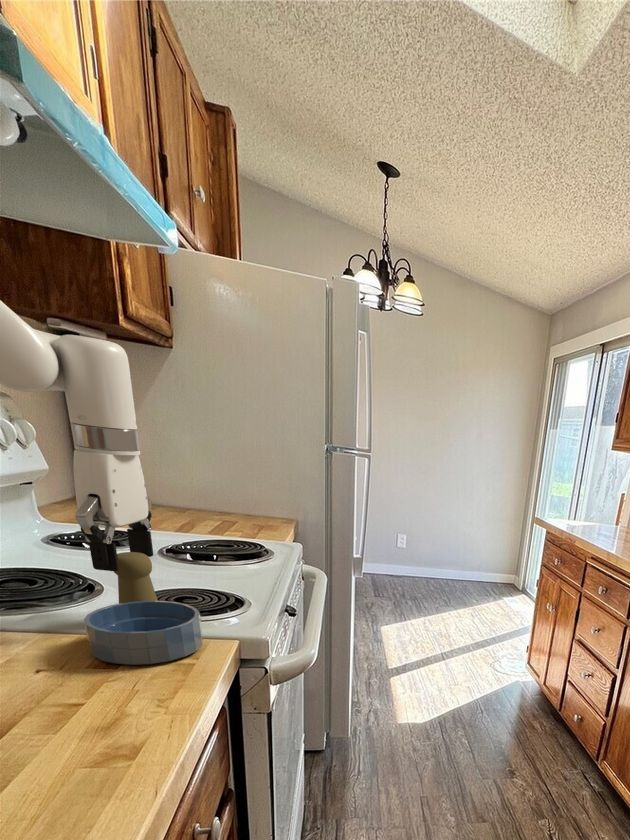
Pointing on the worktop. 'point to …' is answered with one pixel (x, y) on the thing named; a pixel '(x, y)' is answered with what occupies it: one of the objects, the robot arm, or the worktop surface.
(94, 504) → the robot arm
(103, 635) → the bowl
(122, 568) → the olive pawn
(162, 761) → the worktop surface
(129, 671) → the worktop surface
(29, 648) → the worktop surface
